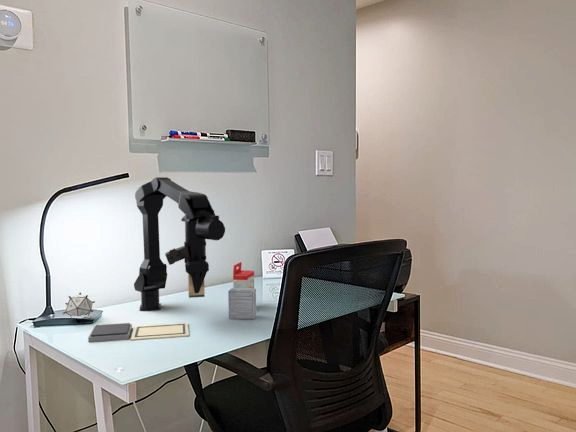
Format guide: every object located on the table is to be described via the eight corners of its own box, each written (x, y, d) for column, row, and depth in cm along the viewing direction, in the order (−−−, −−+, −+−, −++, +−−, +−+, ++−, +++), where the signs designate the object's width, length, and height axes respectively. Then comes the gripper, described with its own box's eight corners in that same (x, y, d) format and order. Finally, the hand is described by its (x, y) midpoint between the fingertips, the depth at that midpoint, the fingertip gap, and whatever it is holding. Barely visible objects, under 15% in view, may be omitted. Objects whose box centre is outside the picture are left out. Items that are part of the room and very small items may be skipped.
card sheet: (134, 327, 140) (134, 325, 140) (187, 323, 144) (187, 322, 144) (130, 340, 129) (130, 338, 129) (188, 336, 132) (188, 334, 132)
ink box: (247, 311, 157) (247, 266, 156) (232, 311, 158) (232, 265, 157) (254, 305, 165) (254, 261, 164) (240, 304, 166) (240, 261, 165)
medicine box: (256, 315, 152) (256, 288, 152) (254, 319, 148) (253, 291, 147) (231, 315, 153) (231, 287, 152) (228, 319, 149) (227, 290, 148)
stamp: (188, 294, 144) (188, 274, 144) (203, 293, 145) (203, 273, 145) (188, 297, 140) (188, 276, 140) (204, 296, 141) (204, 276, 141)
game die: (75, 334, 146) (52, 312, 141) (78, 317, 153) (57, 295, 148) (101, 319, 146) (80, 296, 141) (103, 303, 153) (83, 280, 149)
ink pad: (94, 330, 137) (94, 324, 137) (132, 328, 139) (131, 322, 139) (88, 342, 127) (88, 335, 127) (128, 339, 130) (128, 332, 130)
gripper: (167, 235, 149) (168, 286, 150) (166, 242, 131) (167, 300, 132) (204, 234, 151) (205, 284, 152) (208, 241, 133) (209, 298, 134)
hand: (196, 291), depth 143 cm, fingers closed on stamp, 4 cm apart
